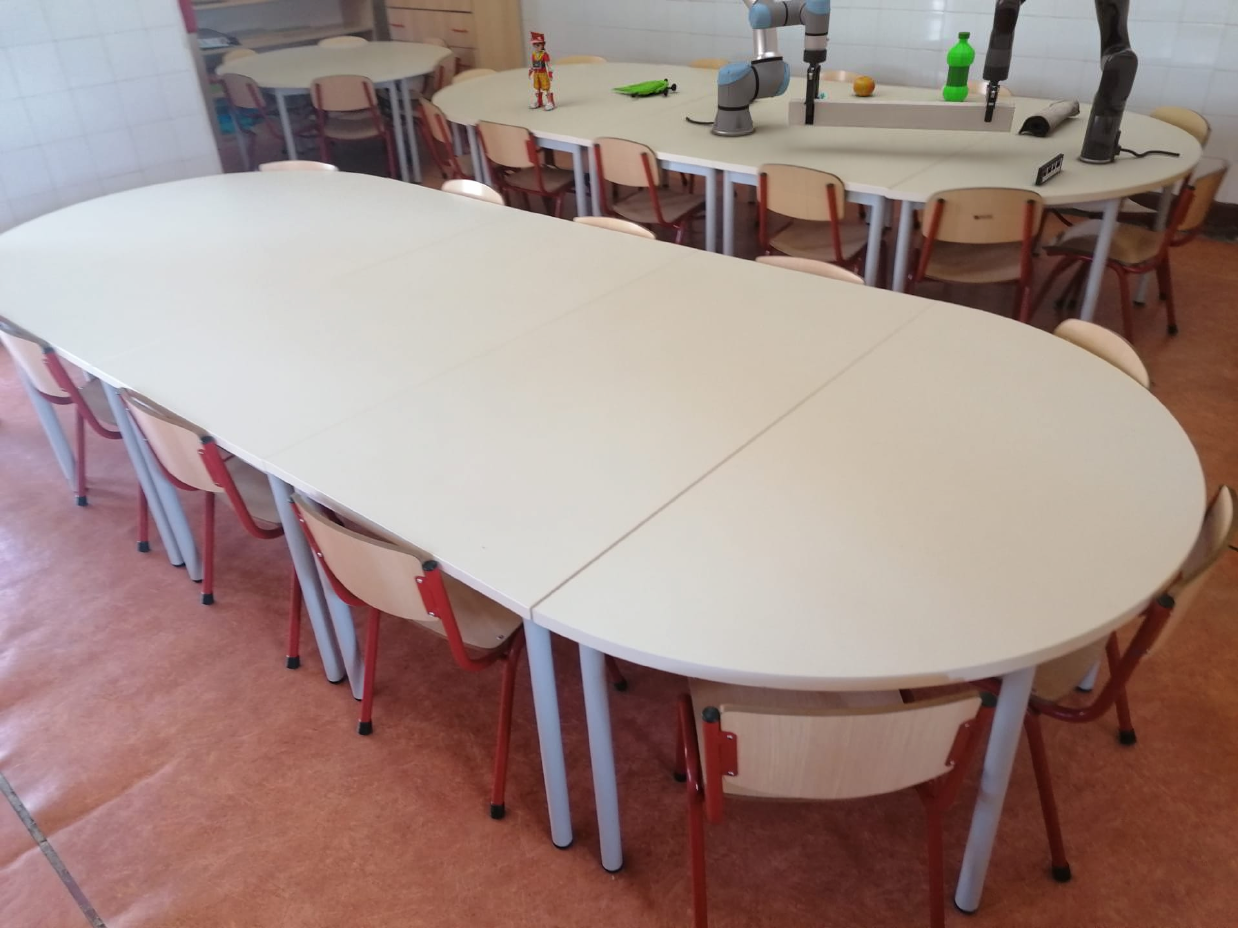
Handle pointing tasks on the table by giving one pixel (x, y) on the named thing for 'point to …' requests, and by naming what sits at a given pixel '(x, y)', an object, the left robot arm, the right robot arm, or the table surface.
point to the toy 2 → (648, 88)
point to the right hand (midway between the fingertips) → (987, 119)
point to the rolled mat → (1050, 117)
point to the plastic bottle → (958, 69)
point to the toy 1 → (541, 71)
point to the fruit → (864, 86)
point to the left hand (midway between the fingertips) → (810, 122)
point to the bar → (903, 114)
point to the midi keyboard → (1049, 169)
